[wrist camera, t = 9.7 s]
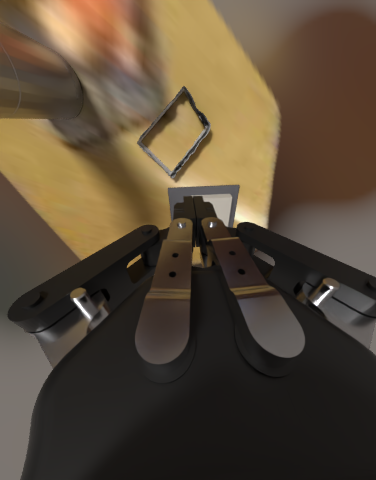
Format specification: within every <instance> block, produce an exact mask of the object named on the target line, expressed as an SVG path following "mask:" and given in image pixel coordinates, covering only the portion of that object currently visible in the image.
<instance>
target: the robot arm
mask: <svg viewBox="0 0 376 480" xmlns="http://www.w3.org/2000/svg"><path fill="white" fill-rule="evenodd" d="M82 104H83V95H82V90H81V86H80V83H79V80H78V78H77V76H76V74H75V73H74V71H73V69H72V68H71V66H70V65H69V64H68V63H67V61H66V60H65V59H64V58H63V57H62V56H60V55H59V54H58V53H56V52H55V51H53V50H51V49H50V48H48V47H46V46H44V45H42V44H40V43H39V42H37V41H35V40H33V39H31V38H30V37H28V36H26V35H24V34H22V33H20V32H19V31H17V30H15V29H13V28H11V27H9V26H7V25H6V24H4V23H2V22H0V119H1V118H12V119H71V118H74V117H75V116H77V115H78V114H79V112H80V111H81V108H82ZM183 201H184V202H181V203H176V204H175V205H174V214H173V221H172V222H171V223H170V227H169V228H167V229H163V230H159V229H158V227H156V226H154V225H144V226H141V227H139V228H137V229H136V230H134V231H132V232H130V233H129V234H127V235H125V236H123V237H122V238H120V239H118V240H117V241H115V242H113V243H111V244H110V245H108V246H106V247H104V248H103V249H101V250H99V251H98V252H96V253H94V254H92V255H91V256H89V257H87V258H85V259H84V260H82V261H80V262H79V263H77V264H75V265H73V266H72V267H70V268H68V269H67V270H65V271H63V272H61V273H60V274H58V275H56V276H54V277H53V278H51V279H49V280H48V281H46V282H44V283H43V284H41V285H39V286H37V287H35V288H34V289H32V290H30V291H28V292H27V293H25V294H24V295H22V296H21V297H20V298H18V299H17V300H16V301H15V302H14V303H13V304H12V306H11V307H10V309H9V311H8V318H9V319H10V320H11V321H12V322H14V323H15V324H17V325H18V326H20V327H21V328H23V329H24V331H25V332H26V333H28V334H29V335H31V336H33V337H34V338H36V339H37V340H38V342H39V344H40V346H41V348H42V350H43V351H44V353H45V355H46V357H47V359H48V360H49V362H50V364H51V366H52V368H53V370H52V372H51V373H50V375H49V376H48V378H47V379H46V381H45V383H44V384H43V387H42V388H41V390H40V393H39V395H38V397H37V400H36V403H35V406H34V409H33V413H32V419H31V427H30V436H29V444H28V450H27V455H26V460H25V464H24V468H23V472H22V476H21V479H20V480H376V355H375V354H373V352H371V351H370V350H369V348H370V344H371V339H372V335H373V331H374V327H375V322H376V277H374V276H371V275H369V274H367V273H365V272H362V271H360V270H358V269H356V268H353V267H351V266H349V265H346V264H344V263H342V262H340V261H338V260H335V259H333V258H331V257H329V256H326V255H324V254H322V253H319V252H317V251H315V250H313V249H310V248H308V247H306V246H304V245H301V244H299V243H297V242H295V241H292V240H290V239H288V238H286V237H283V236H281V235H279V234H276V233H274V232H272V231H269V230H268V229H265V228H263V227H261V226H258V225H256V224H254V223H250V222H242V223H239V224H238V225H237V228H231V227H227V226H225V224H224V223H223V221H222V220H221V219H219V218H218V217H217V215H216V212H215V209H214V207H213V204H211V203H210V202H204V200H203V196H193V197H192V196H183ZM195 241H196V247H200V258H201V262H202V266H203V268H200V267H193V266H192V253H193V247H195ZM255 249H258V250H260V251H262V252H264V253H265V254H267V255H269V256H271V257H273V259H274V261H275V266H272V265H270V264H268V263H267V262H265V261H263V260H261V259H260V258H258V257H256V256H255V255H253V254H254V251H255ZM140 254H141V257H142V258H140V259H139V260H138V261H136V262H135V263H134V264H132V265H131V266H130V267H128V268H127V265H128V263H129V262H130V261H131V260H133V259H134V258H135V257H137V256H138V255H140Z"/></svg>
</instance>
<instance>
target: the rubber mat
mask: <svg viewBox="0 0 376 480" xmlns="http://www.w3.org/2000/svg"><path fill="white" fill-rule="evenodd" d="M238 191H239V185H224V186H201V187H178V188H168V194H169V202H170V211H171V220H172V221H173V214H174V205H175V204H176V203H181V202H184V201H183V196H191V195H212V194H230V195H231V196H232V203H231V209H230V216H229V223H228V227H231V228H233V222H234V216H235V210H236V204H237V198H238Z"/></svg>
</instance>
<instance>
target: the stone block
mask: <svg viewBox="0 0 376 480" xmlns="http://www.w3.org/2000/svg"><path fill="white" fill-rule="evenodd" d="M191 196H192V197H193V196H203V200H204V202H210V203H211V204H213V207H214V209H215V212H216V215H217V217H218V218H219V219H221V220H222V221H223V223H224V224H225V226H227V227H228V223H229V216H230V209H231V203H232V196H231V195H230V194H212V195H191Z"/></svg>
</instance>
